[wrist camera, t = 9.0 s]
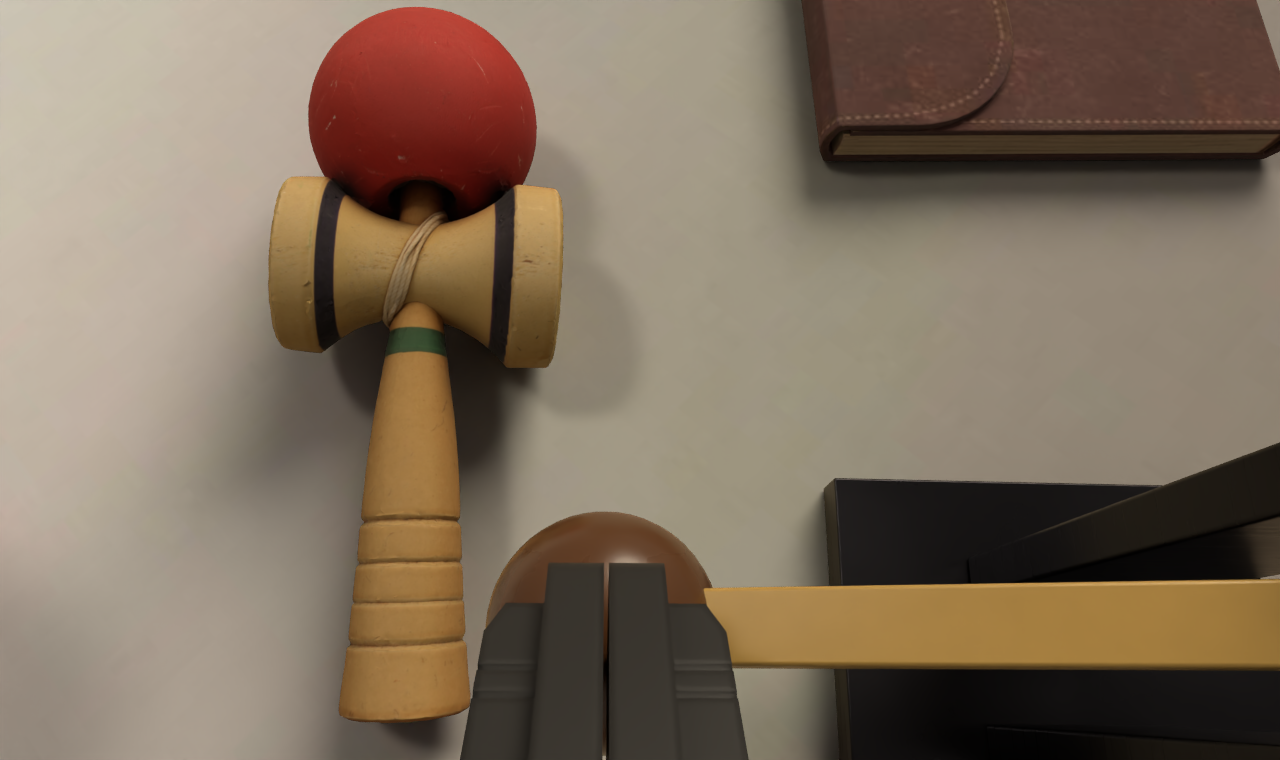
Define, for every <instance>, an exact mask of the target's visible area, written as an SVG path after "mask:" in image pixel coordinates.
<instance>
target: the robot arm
mask: <svg viewBox="0 0 1280 760" xmlns="http://www.w3.org/2000/svg"><path fill="white" fill-rule="evenodd" d="M603 629H604V563H549V564H548V570H547V580H546V590H545V600H544V603H505V604H504V606H503V607H502V608H501V610H500V611H499V612H498V613H497V615H496V616H495V617H494V619H493V620H492V621H491V622H490V624H489V625H488V626H487V628H486V629H485V630H484V633H483V638H482V644H481V649H480V655H479V660H478V670H477V671H476V676H475V682H474V687H473V697H472V698H471V703H470V708H469V714H468V719H467V725H466V730H465V735H464V741H463V746H462V752H461V757H460V760H602V733H603ZM606 760H748V754H747V748H746V742H745V737H744V731H743V725H742V719H741V713H740V707H739V702H738V698H737V690H736V684H735V678H734V672H733V671H732V661H731V655H730V649H729V643H728V637H727V632H726V630H725V629H724V628H723V626H722V625H721V624H720V622H719V621H718V620H717V618H716V617H715V616H714V614H713V613H712V612H711V610H710V609H709V608H708V606H707V605H706V604H677V603H668V594H667V583H666V572H665V565H664V563H609V581H608V629H607V684H606Z"/></svg>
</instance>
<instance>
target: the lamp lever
mask: <svg viewBox="0 0 1280 760" xmlns="http://www.w3.org/2000/svg"><path fill="white" fill-rule="evenodd" d="M549 563H604V629H603V733H602V756H606V684H607V629H608V581H609V563H664V565H665V572H666V583H667V594H668V603H677V604H706V605H707V606H708V608H709V609H710V610H711V612H712V613H713V614H714V616H715V617H716V618H717V620H718V621H719V622H720V624H721V625H722V626H723V628H724V629H725V630H726V632H727V637H728V643H729V649H730V655H731V661H732V668H784V669H1013V670H1241V671H1280V579H1248V580H1185V581H1122V582H1059V583H996V584H934V585H871V586H808V587H745V588H713V587H712V585H711V582H710V580H709V578H708V576H707V574H706V572H705V570H704V569H703V568H702V566H701V565H700V563H699V562H698V560H697V559H696V557H695V556H694V554H693V553H692V552H691V551H690V550H689V549H688V548H687V547H686V545H685V544H684V543H682V542H681V541H680V540H679V539H678V538H677V537H675V536H674V535H673V534H672V533H670V532H668V531H667V530H665V529H664V528H662V527H661V526H659V525H657V524H654V523H652V522H650V521H648V520H646V519H644V518H640V517H637V516H634V515H631V514H625V513H619V512H591V513H583V514H579V515H575V516H571V517H568V518H566V519H563V520H560V521H558V522H556V523H554V524H552V525H550V526H548V527H546V528H545V529H543V530H541V531H540V532H539V533H537V534H536V535H534V536H533V537H532V538H530V539H529V540H528V541H527V542H526V543H525V544H524V545H523V546H522V547H521V548H520V549H519V550H518V551H517V552H516V553H515V554H514V556H513V557H512V558H511V559H510V561H509V562H508V564H507V565H506V567H505V568H504V570H503V571H502V573H501V575H500V577H499V579H498V581H497V583H496V585H495V588H494V591H493V593H492V596H491V599H490V604H489V608H488V612H487V619H486V628H487V626H488V625H489V624H490V622H491V621H492V620H493V619H494V617H495V616H496V615H497V613H498V612H499V611H500V610H501V608H502V607H503V606H504V604H505V603H544V600H545V590H546V580H547V570H548V564H549Z"/></svg>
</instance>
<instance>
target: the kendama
mask: <svg viewBox="0 0 1280 760" xmlns="http://www.w3.org/2000/svg"><path fill="white" fill-rule="evenodd" d="M308 117H309V133H310V140H311V143H312V147H313V151H314V153H315V156H316V159H317V161H318V164H319V166H320V168H321V170H322V172H323V174H324V176H325V177H291V178H289V179H287V180H286V181H285V182H284V183H283V185H282V187H281V189H280V190H279V194H278V197H277V200H276V205H275V210H274V217H273V221H272V228H271V237H270V248H269V264H268V265H269V281H268V287H269V303H270V309H271V317H272V324H273V329H274V331H275V335H276V338H277V339H278V341H279V342H280V344H281V346H283V347H284V348H287V349H291V350H299V351H307V352H316V353H322V352H323V351H325V350H326V349H327V348H329V347H330V346H331V345H333V344H334V343H335V342H337V341H338V340H340V339H341V338H343V337H344V336H346V335H347V334H349V333H350V332H352V331H354V330H356V329H358V328H360V327H363V326H365V325H369V324H373V323H376V322H380V321H381V320H382V321H383V323H385V325H386V326H387V327H388V328H389V330H390V335H389V339H388V344H387V349H386V351H385V360H384V365H383V370H382V376H381V381H380V387H379V391H378V397H377V402H376V407H375V414H374V419H373V425H372V432H371V437H370V444H369V451H368V459H367V467H366V474H365V485H364V494H363V502H362V514H361V518H362V520H363V521H364V524H363V525H362V526H361V527H360V531H359V543H358V559H357V560H358V562H359V563H360V564H359V565H358V566H357V567H356V573H355V581H354V590H353V601H354V604H353V605H352V609H351V618H350V627H349V640H350V643H351V645H350V646H349V647H348V648H347V651H346V659H345V667H344V673H343V680H342V686H341V694H340V702H339V714H340V716H343V717H344V718H347V719H349V720H353V721H359V722H380V723H397V722H414V721H427V720H433V719H437V718H442V717H446V716H451V715H455V714H458V713H460V712H462V711H464V710H465V709H467V708H468V707H469V706H470V690H469V677H468V664H467V647H466V643H465V642H464V641H463V640H462V638H463V636H464V634H465V616H464V603H463V601H462V598H463V574H462V565H461V564H460V560H461V558H462V548H461V527H460V525H459V524H458V523H457V521H458V519H459V518H460V488H459V468H458V452H457V439H456V428H455V417H454V410H453V402H452V395H451V385H450V378H449V369H448V360H447V353H446V348H445V334H444V324H443V323H445V324H447V325H450V326H452V327H454V328H457V329H459V330H461V331H463V332H465V333H467V334H469V335H470V336H472V337H474V338H475V339H477V340H478V341H479V342H481V343H482V344H483V345H485V346H486V347H487V348H488V349H489V350H490V351H492V352H493V353H494V354H495V356H497V357H498V359H500V360H501V361H502V363H503V364H504V365H505V366H506V367H507V368H545V367H548V365H549V364H550V362H551V361H552V359H553V356H554V351H555V345H556V337H557V330H558V322H559V314H560V299H561V287H562V269H563V210H562V200H561V198H560V196H559V193H558V192H557V190H555V189H553V188H544V187H535V186H527V185H522V184H523V183H524V181H525V179H526V177H527V174H528V172H529V169H530V166H531V163H532V161H533V156H534V152H535V146H536V129H537V125H536V115H535V109H534V104H533V99H532V96H531V92H530V90H529V87H528V84H527V82H526V80H525V78H524V75H523V73H522V71H521V69H520V68H519V66H518V64H517V63H516V61H515V60H514V59H513V57H512V56H511V54H510V53H509V52H508V51H507V50H506V49H505V47H504V46H503V45H502V44H501V43H500V42H499V41H498V40H497V39H495V38H494V37H493V36H492V35H491V34H490V33H488V32H487V31H486V30H485V29H483V28H482V27H480V26H478V25H477V24H475V23H473V22H472V21H470V20H468V19H466V18H463V17H461V16H459V15H456V14H454V13H452V12H447V11H444V10H439V9H434V8H426V7H405V8H397V9H392V10H388V11H385V12H381V13H379V14H376V15H374V16H372V17H369V18H367V19H365V20H363V21H362V22H360V23H359V24H357V25H356V26H354V27H353V28H352V29H350V30H349V31H347V32H346V33H345V34H344V35H343V36H342V37H341V38H340V39H339V40H338V41H337V42H336V43H335V44H334V45H333V47H332V48H331V49H330V51H329V52H328V53H327V55H326V57H325V58H324V60H323V62H322V64H321V65H320V68H319V70H318V72H317V74H316V77H315V80H314V83H313V86H312V91H311V95H310V101H309V113H308Z"/></svg>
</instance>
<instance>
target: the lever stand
mask: <svg viewBox="0 0 1280 760" xmlns="http://www.w3.org/2000/svg"><path fill="white" fill-rule="evenodd" d="M824 499H825V516H826V534H827V551H828V568H829V585H830V586H871V585H934V584H996V583H1059V582H1122V581H1185V580H1248V579H1260V578H1262V577H1267V576H1273V575H1278V574H1280V443H1277V444H1274V445H1271V446H1269V447H1266V448H1263V449H1261V450H1258V451H1255V452H1253V453H1250V454H1247V455H1245V456H1242V457H1239V458H1236V459H1234V460H1231V461H1228V462H1226V463H1223V464H1220V465H1218V466H1215V467H1212V468H1209V469H1207V470H1204V471H1201V472H1199V473H1196V474H1193V475H1191V476H1188V477H1185V478H1182V479H1180V480H1177V481H1174V482H1172V483H1169V484H1166V485H1164V486H1162V485H1117V484H1072V483H1027V482H982V481H937V480H892V479H846V478H835V479H834V480H833V481H832V482H830V483H829V484H828V485H827V486H826V487H825V488H824ZM834 671H835V689H836V706H837V723H838V740H839V757H840V760H1280V671H1241V670H1013V669H834Z"/></svg>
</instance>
